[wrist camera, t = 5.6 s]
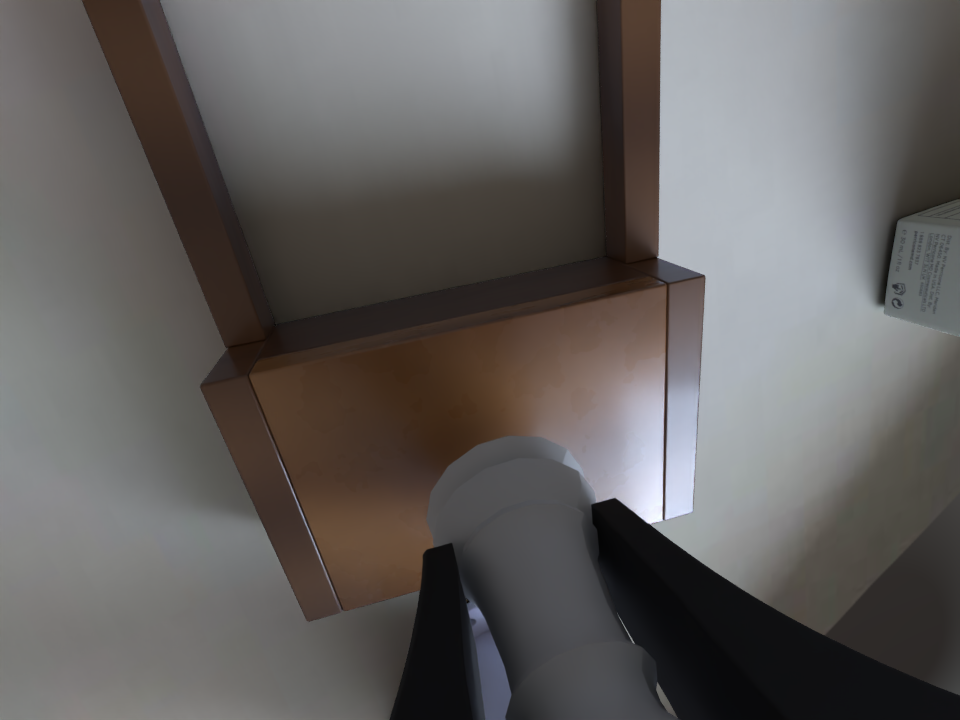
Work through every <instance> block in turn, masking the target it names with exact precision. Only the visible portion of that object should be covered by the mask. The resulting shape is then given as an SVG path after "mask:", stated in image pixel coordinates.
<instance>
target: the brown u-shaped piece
mask: <svg viewBox="0 0 960 720" xmlns="http://www.w3.org/2000/svg"><path fill="white" fill-rule="evenodd" d="M82 2H83V5H84V7H85V9H86V12H87V14H88V17H89V19H90V22H91V24H92V26H93V29H94V31H95V34H96V36H97V38H98V41H99V43H100V46H101V48H102V50H103V53H104V55H105V58H106V60H107V63H108V65H109V67H110V70H111V72H112V75H113V77H114V79H115V82H116V84H117V87H118V89H119V91H120V94H121V96H122V99H123V101H124V104H125V106H126V108H127V111H128V113H129V116H130V118H131V120H132V123H133V125H134V128H135V130H136V132H137V135H138V137H139V140H140V142H141V145H142V147H143V149H144V152H145V154H146V157H147V159H148V161H149V164H150V166H151V169H152V171H153V173H154V176H155V178H156V181H157V183H158V186H159V188H160V190H161V193H162V195H163V198H164V200H165V202H166V205H167V207H168V210H169V212H170V214H171V217H172V219H173V222H174V224H175V227H176V229H177V231H178V234H179V236H180V239H181V241H182V243H183V246H184V248H185V251H186V253H187V255H188V258H189V260H190V263H191V265H192V268H193V270H194V272H195V275H196V277H197V280H198V282H199V284H200V287H201V289H202V292H203V294H204V296H205V299H206V301H207V304H208V306H209V309H210V311H211V313H212V316H213V318H214V321H215V323H216V325H217V328H218V330H219V333H220V335H221V337H222V340H223V342H224V345H225V347H226V348H227V350H226V351H225V352H224V354H223V355H222V356H221V358H220V359H219V360H218V362H217V363H216V364H215V366H214V367H213V369H212V370H211V371H210V373H209V374H208V375H207V377H206V378H205V379H204V381H203V382H202V383H201V385H200V388H201V391H202V393H203V395H204V397H205V399H206V402H207V404H208V406H209V408H210V410H211V412H212V415H213V417H214V419H215V421H216V423H217V426H218V428H219V430H220V432H221V434H222V436H223V439H224V441H225V443H226V445H227V447H228V450H229V452H230V454H231V456H232V458H233V461H234V463H235V465H236V467H237V469H238V471H239V474H240V476H241V478H242V480H243V482H244V485H245V487H246V489H247V491H248V493H249V495H250V498H251V500H252V502H253V504H254V506H255V509H256V511H257V513H258V515H259V517H260V520H261V522H262V524H263V526H264V528H265V530H266V533H267V535H268V537H269V539H270V541H271V544H272V546H273V548H274V550H275V552H276V554H277V557H278V559H279V561H280V563H281V565H282V568H283V570H284V572H285V574H286V576H287V578H288V581H289V583H290V585H291V587H292V589H293V592H294V594H295V596H296V598H297V600H298V603H299V605H300V607H301V609H302V611H303V613H304V616H305V618H306V620H307V621H308V622H310V621H313V620H317V619H320V618H324V617H327V616H331V615H334V614H338V613H341V612H342V611H349V610H352V609H356V608H359V607H363V606H366V605H370V604H373V603H377V602H380V601H384V600H387V599H391V598H394V597H398V596H401V595H405V594H408V593H412V592H415V591H419V590H420V587H421V578H422V565H423V553H424V552H425V551H426V550H427V549H430V548H434V546H433V537H432V534H431V531H430V529H429V526H428V523H427V520H426V518H427V512H428V506H429V500H430V494H431V491H432V490H433V488H434V487H435V485H436V484H437V482H438V481H439V479H440V478H441V476H442V475H443V473H444V472H445V470H446V469H447V467H448V466H449V465H450V464H452V463H453V462H454V461H456V460H457V459H459V458H460V457H461V456H463V455H464V454H465V453H467V452H468V451H470V450H471V449H472V448H474V447H475V446H477V445H479V444H482V443H485V442H488V441H492V440H495V439H498V438H501V437H505V436H528V437H542V438H545V439H547V440H549V441H551V442H553V443H555V444H557V445H560V446H562V447H564V448H566V449H568V451H569V452H570V453H571V455H572V456H573V457H574V458H575V460H576V461H577V462H578V464H579V465H580V466H581V467H582V469H583V473H584V479H585V480H586V481H587V483H588V484H589V485H590V486H591V488H592V489H593V490H594V493H595V497H596V502H597V503H598V502H601V501H605V500H609V499H612V498H616V499H618V500H619V501H621V502H622V503H623V504H624V505H626V506H627V507H628V508H629V509H631V510H632V511H633V512H634V513H636V514H637V515H638V516H639V517H641V518H642V519H643V520H644V521H646V522H647V523H648V524H653V523H657V522H660V521H662V520H668V519H672V518H675V517H679V516H682V515H686V514H689V513H692V512H693V502H694V483H695V464H696V445H697V426H698V407H699V388H700V370H701V351H702V332H703V313H704V294H705V275H703V274H700V273H697V272H694V271H692V270H689V269H686V268H683V267H681V266H678V265H675V264H672V263H670V262H667V261H664V260H661V259H659V258H657V257H658V250H659V145H660V40H661V0H597V17H598V44H599V70H600V97H601V124H602V151H603V178H604V204H605V231H606V255H607V257H601V258H596V259H592V260H587V261H582V262H577V263H572V264H567V265H563V266H558V267H553V268H548V269H543V270H538V271H534V272H529V273H524V274H519V275H514V276H509V277H505V278H500V279H495V280H490V281H485V282H480V283H476V284H471V285H466V286H461V287H456V288H451V289H447V290H442V291H437V292H432V293H427V294H422V295H418V296H413V297H408V298H403V299H398V300H393V301H388V302H384V303H379V304H374V305H369V306H364V307H359V308H355V309H350V310H345V311H340V312H335V313H330V314H326V315H321V316H316V317H311V318H306V319H301V320H297V321H292V322H287V323H282V324H278V325H276V327H275V326H274V324H275V322H274V320H273V317H272V314H271V311H270V308H269V306H268V303H267V300H266V297H265V294H264V292H263V289H262V286H261V283H260V280H259V278H258V275H257V272H256V269H255V267H254V264H253V261H252V258H251V255H250V253H249V250H248V247H247V244H246V241H245V239H244V236H243V233H242V230H241V227H240V225H239V222H238V219H237V216H236V213H235V211H234V208H233V205H232V202H231V199H230V197H229V194H228V191H227V188H226V185H225V183H224V180H223V177H222V174H221V171H220V169H219V166H218V163H217V160H216V158H215V155H214V152H213V149H212V146H211V144H210V141H209V138H208V135H207V132H206V130H205V127H204V124H203V121H202V118H201V116H200V113H199V110H198V107H197V104H196V102H195V99H194V96H193V93H192V90H191V88H190V85H189V82H188V79H187V76H186V74H185V71H184V68H183V65H182V63H181V60H180V57H179V54H178V51H177V49H176V46H175V43H174V40H173V37H172V35H171V32H170V29H169V26H168V23H167V21H166V18H165V15H164V12H163V9H162V7H161V4H160V1H159V0H82Z"/></svg>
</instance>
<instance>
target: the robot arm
mask: <svg viewBox="0 0 960 720" xmlns="http://www.w3.org/2000/svg"><path fill="white" fill-rule="evenodd" d="M591 509H592V524H593V525H594V526H595V527H596V529H597V532H598V544H599V556H598V563H599V566H600V568H601V571H602V574H603V576H604V579H605V582H606V584H607V587H608V590H609V593H610V595H611V598H612V601H613V603H614V606H615V609H616V611H617V613H618V615H619V617H620V618H621V620H622V622H623V624H624V625H625V627H626V629H627V631H628V632H629V634H630V636H631V637H632V639H633V641H634V643H635V644H636V645H638V646H640V647H643V648H644V649H645V651H646V652H647V653H648V654H649V655H650V656H651V657H652V658H653V659H654V660H655V661H656V670H657V682H658V683H659V685H660V687H661V689H662V690H663V692H664V694H665V695H666V697H667V699H668V701H669V702H670V704H671V706H672V708H673V710H674V711H675V713H676V715H677V717H678V719H680V720H960V695H957V694H954V693H952V692H949V691H947V690H944V689H941V688H938V687H936V686H934V685H931V684H929V683H927V682H924V681H922V680H920V679H917V678H915V677H913V676H910V675H908V674H906V673H903V672H901V671H899V670H896V669H894V668H892V667H889V666H887V665H885V664H883V663H880V662H878V661H876V660H874V659H872V658H870V657H867V656H865V655H863V654H861V653H859V652H857V651H855V650H853V649H851V648H849V647H847V646H845V645H843V644H841V643H839V642H837V641H835V640H832V639H830V638H828V637H826V636H824V635H822V634H820V633H818V632H816V631H814V630H812V629H810V628H808V627H807V626H805V625H803V624H801V623H799V622H797V621H795V620H793V619H792V618H790V617H788V616H786V615H784V614H783V613H781V612H779V611H777V610H776V609H774V608H772V607H770V606H769V605H767V604H765V603H763V602H762V601H760V600H758V599H757V598H755V597H753V596H752V595H750V594H749V593H747V592H745V591H744V590H742V589H740V588H739V587H737V586H736V585H734V584H733V583H731V582H730V581H728V580H727V579H725V578H723V577H722V576H720V575H719V574H717V573H716V572H714V571H713V570H711V569H710V568H708V567H707V566H705V565H704V564H703V563H701V562H700V561H698V560H697V559H695V558H694V557H693V556H691V555H690V554H689V553H687V552H686V551H684V550H683V549H682V548H680V547H679V546H677V545H676V544H675V543H673V542H672V541H671V540H669V539H668V538H667V537H665V536H664V535H663V534H661V533H660V532H659V531H657V530H656V529H655V528H653V527H652V526H651V525H650V524H648V523H647V522H646V521H644V520H643V519H642V518H641V517H639V516H638V515H637V514H636V513H634V512H633V511H632V510H631V509H629V508H628V507H627V506H626V505H624V504H623V503H622V502H621V501H619V500H618V499H616V498H612V499H609V500H605V501H601V502H598V503H594V504H591ZM511 695H512V694H511V690H510V686H509V682H508V679H507V675H506V671H505V667H504V664H503V662H502V659H501V657H500V654H499V652H498V650H497V647H496V645H495V642H494V640H493V637H492V635H491V632H490V630H489V627H488V625H487V623H486V620H485V618H484V616H483V615H482V613H481V611H480V610H479V608H477V607H476V606H475V605H474V604H473V603H472V602H469V603H468V604H467V603H466V598H465V595H464V591H463V587H462V583H461V579H460V574H459V569H458V565H457V561H456V556H455V552H454V548H453V544H452V543H449V544H445V545H441V546H438V547H434V548H430V549H427V550H426V551H425V552H424V553H423V565H422V578H421V587H420V594H419V601H418V607H417V612H416V617H415V623H414V628H413V633H412V638H411V642H410V647H409V651H408V655H407V659H406V663H405V667H404V670H403V674H402V678H401V682H400V686H399V690H398V693H397V697H396V700H395V703H394V707H393V710H392V713H391V717H390V720H506V719H505V715H506V712H507V709H508V705H509V702H510V698H511Z"/></svg>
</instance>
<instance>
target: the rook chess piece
mask: <svg viewBox="0 0 960 720" xmlns="http://www.w3.org/2000/svg"><path fill="white" fill-rule="evenodd" d="M594 503H597V502H596V497H595V493H594V490H593V489H592V488H591V486H590V485H589V484H588V483H587V481H586V480H585V479H584V473H583V469H582V467H581V466H580V465H579V464H578V462H577V461H576V460H575V458H574V457H573V456H572V455H571V453H570V452H569V451H568V449H566V448H564V447H562V446H560V445H557V444H555V443H553V442H551V441H549V440H547V439H545V438H542V437H528V436H505V437H501V438H498V439H495V440H492V441H488V442H485V443H482V444H479V445H477V446H475V447H474V448H472V449H471V450H470V451H468V452H467V453H465V454H464V455H463V456H461V457H460V458H459V459H457V460H456V461H454V462H453V463H452V464H450V465H449V466H448V467H447V469H446V470H445V472H444V473H443V475H442V476H441V478H440V479H439V481H438V482H437V484H436V485H435V487H434V488H433V490H432V491H431V494H430V500H429V506H428V512H427V518H426V520H427V523H428V526H429V529H430V531H431V534H432V537H433V546H434V547H438V546H441V545H445V544H449V543H452V544H453V548H454V552H455V556H456V561H457V565H458V569H459V574H460V579H461V583H462V587H463V591H464V595H465V597H466V598H467V599H468V600H469V601H470V602H472V603H473V604H474V605H475V606H476V607H477V608H479V610H480V611H481V613H482V615H483V616H484V618H485V620H486V623H487V625H488V627H489V630H490V632H491V635H492V637H493V640H494V642H495V645H496V647H497V650H498V652H499V654H500V657H501V659H502V662H503V664H504V667H505V671H506V675H507V679H508V682H509V686H510V690H511V694H512V695H511V698H510V702H509V705H508V709H507V712H506V715H505V719H506V720H680V719H678V718H677V717H675V716H673V715H672V714H670V713H668V712H667V710H666V709H665V707H664V706H663V704H662V703H661V701H660V699H659V696H658V694H657V691H656V686H657V670H656V661H655V660H654V659H653V658H652V657H651V656H650V655H649V654H648V653H647V652H646V651H645V649H644V648H643V647H640V646H638V645H636V644H634V643H632V641H631V639H630V637H629V635H628V633H627V632H626V630H625V628H624V626H623V624H622V622H621V620H620V618H619V617H618V614H617V611H616V609H615V606H614V603H613V601H612V598H611V595H610V593H609V590H608V587H607V584H606V582H605V579H604V576H603V574H602V571H601V568H600V566H599V563H598V556H599V544H598V532H597V529H596V527H595V526H594V525H593V524H592V509H591V504H594Z"/></svg>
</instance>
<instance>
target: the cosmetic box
mask: <svg viewBox="0 0 960 720" xmlns="http://www.w3.org/2000/svg"><path fill="white" fill-rule="evenodd" d="M884 314H885V315H887V316H890V317H893V318H897V319H900V320H904V321H907V322H911V323H914V324H917V325H921V326H924V327H928V328H931V329H935V330H938V331H941V332H945V333H948V334H952V335H955V336H959V337H960V199H957V200H954V201H951V202H948V203H945V204H942V205H939V206H936V207H933V208H930V209H927V210H924V211H922V212H919V213H916V214H913V215H910V216H907V217H904V218H902V219H900V220H899V221H898V222H897V228H896V233H895V239H894V245H893V251H892V257H891V263H890V269H889V275H888V283H887V290H886V298H885V307H884Z"/></svg>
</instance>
